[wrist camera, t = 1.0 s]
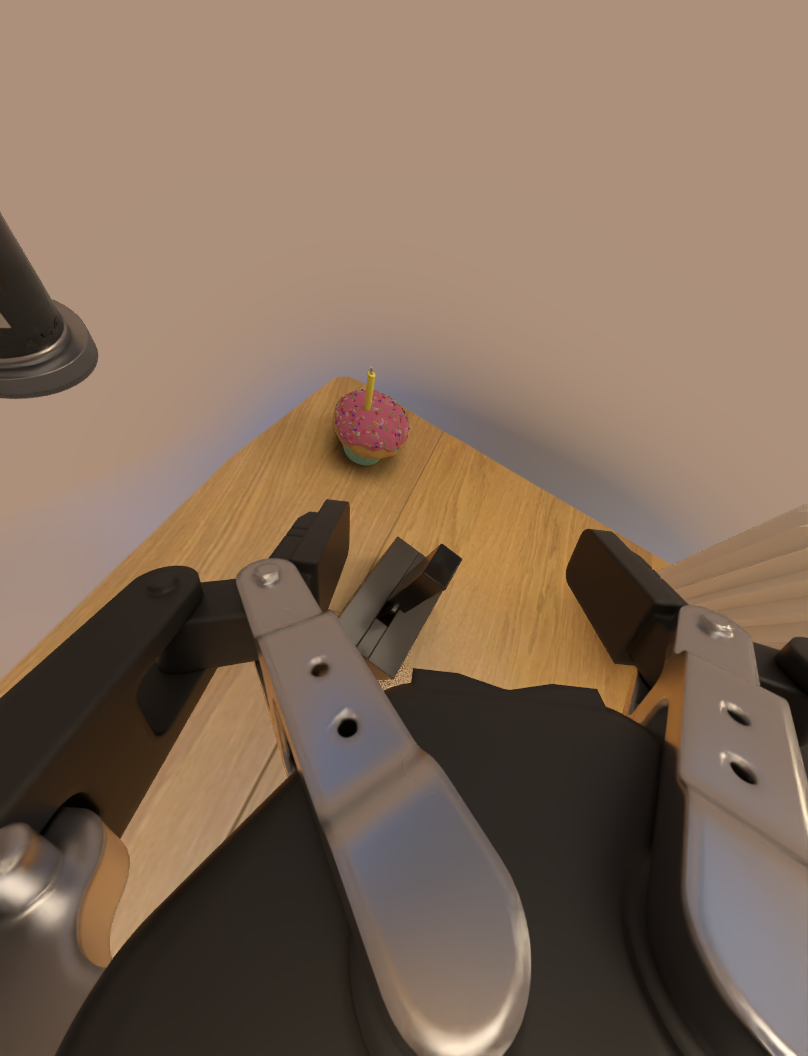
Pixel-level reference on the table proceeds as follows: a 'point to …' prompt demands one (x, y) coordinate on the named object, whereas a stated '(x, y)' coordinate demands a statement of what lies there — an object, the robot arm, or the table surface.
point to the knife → (422, 581)
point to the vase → (753, 579)
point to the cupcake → (370, 424)
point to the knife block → (398, 631)
